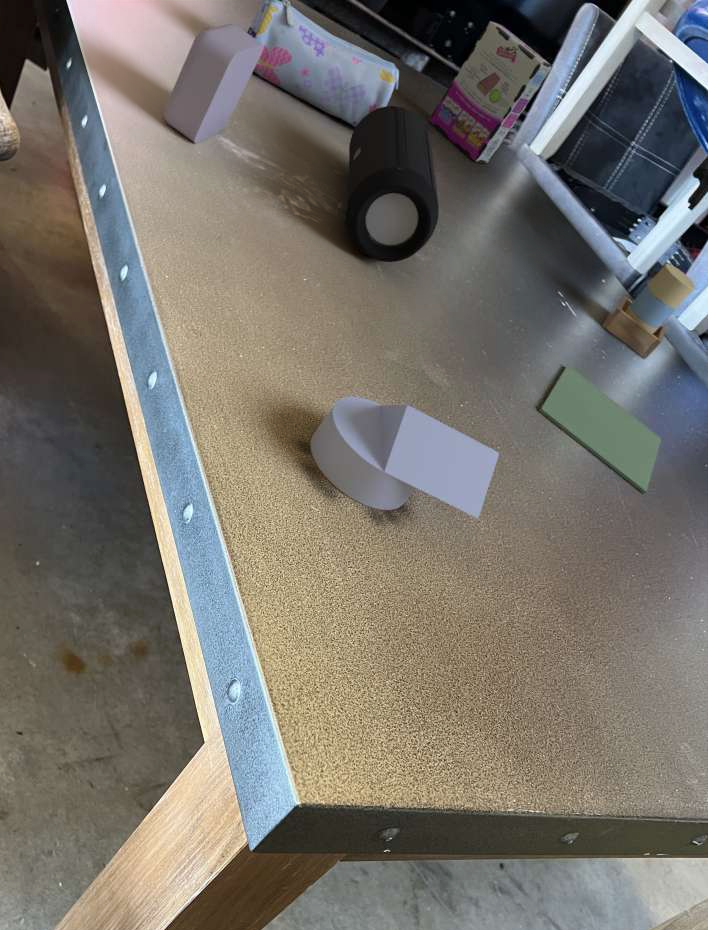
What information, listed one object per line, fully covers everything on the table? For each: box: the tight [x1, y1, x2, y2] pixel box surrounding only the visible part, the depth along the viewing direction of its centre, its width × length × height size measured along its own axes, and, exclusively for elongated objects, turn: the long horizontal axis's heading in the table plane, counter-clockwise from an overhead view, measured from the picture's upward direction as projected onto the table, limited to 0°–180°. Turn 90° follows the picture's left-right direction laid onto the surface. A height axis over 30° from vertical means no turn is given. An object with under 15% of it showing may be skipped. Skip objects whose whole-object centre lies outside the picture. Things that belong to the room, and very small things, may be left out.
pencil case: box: [246, 0, 400, 128], centre depth 128 cm, size 21×9×10 cm, turn 89°
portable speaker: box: [344, 105, 440, 263], centre depth 110 cm, size 26×10×10 cm, turn 175°
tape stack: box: [624, 263, 696, 334], centre depth 131 cm, size 5×5×10 cm
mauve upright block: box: [163, 23, 263, 144], centre depth 102 cm, size 10×5×10 cm, turn 159°
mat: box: [538, 364, 662, 495], centre depth 107 cm, size 14×16×1 cm
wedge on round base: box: [310, 396, 500, 519], centre depth 75 cm, size 9×7×13 cm
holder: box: [601, 295, 667, 360], centre depth 133 cm, size 7×7×3 cm
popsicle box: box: [428, 20, 554, 164], centre depth 151 cm, size 11×5×16 cm, turn 47°
